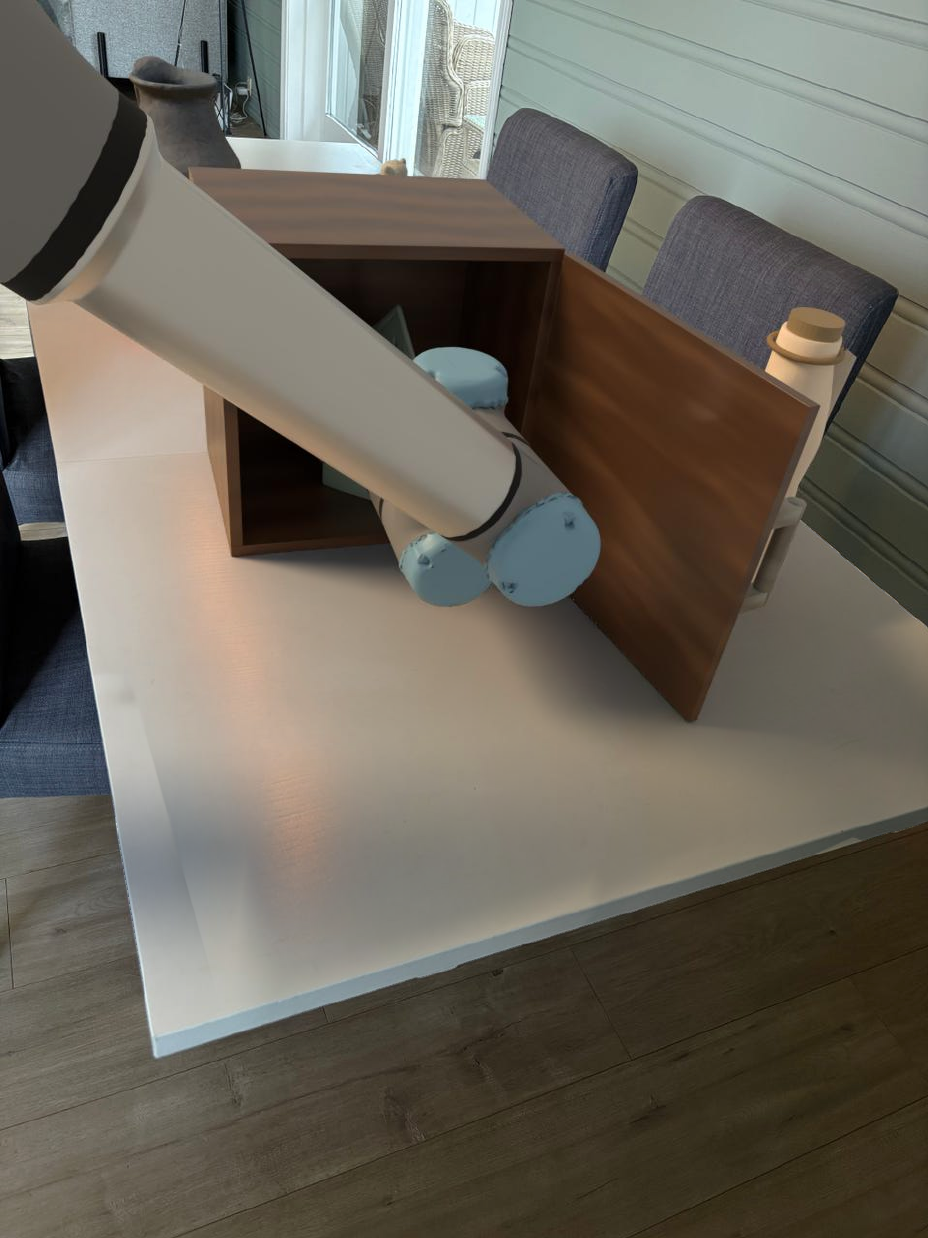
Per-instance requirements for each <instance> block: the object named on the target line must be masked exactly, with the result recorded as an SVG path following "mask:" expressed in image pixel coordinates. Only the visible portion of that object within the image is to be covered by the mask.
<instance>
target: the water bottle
mask: <svg viewBox="0 0 928 1238" xmlns="http://www.w3.org/2000/svg"><path fill="white" fill-rule="evenodd" d="M845 327H846V321H845V320H844V319H843V318H842V317H840V316H839V315H837V314H836V313H833V312H830V311H827V310H824V309H821V308H815V307H809V306H798V307H794V308H792V309H791V310H790V312H789V316H788V319H787V321H785V322H784V323H782V326H781V327H780V329H779V330H775V331H772V332H771V333H769V334H768V335H767V337H766V340H765V341H766V345H767V346H768V347H769V349H770V350H771V354H770V356H769V359H768V361H767V364H766V367H765V370H764V371H765V372H767V373H769V374H770V375H772V376H773V377H775V378H777V379H778V380H780V381H782V382H783V383H785V384H786V385H788V386H790V387H791V388H793V389H795V390H796V391H798V392H799V393H801V394H803V395H804V396H806V397H808V398H809V399H811V400H812V401H814V402H816V403H817V404H819V405H820V409H819V411H818V414H817V417H816V419H815V422H814V424H813V427H812V429H811V432H810V434H809V437H808V439H807V442H806V444H805V447H804V449H803V452H802V455H801V457H800V460H799V462H798V465H797V467H796V470H795V472H794V475H793V477H792V480H791V482H790V485H789V487H788V490H787V493H786V495H785V498H787V497H796V495H797V492H798V489H799V485H800V483H801V482H802V480H803V478H804V476H805V475H806V472H807V471H808V469H809V467H810V465H811V463H812V462H813V460H814V458H815V457H816V454H817V452H818V450H819V448H820V445H821V443H822V441H823V437H824V434H825V429H826V426H827V422H828V420H829V418H830V416H831V413H832V412H833V410H834V408H835V405H836V403H837V401H838V398H839V396H840V394H841V392H842V390H843V388H844V386H845V384H846V382H847V380H848V377H849V375H850V373H851V371H852V368H853V367H854V364H855V362H856V360H857V358H858V357H857V356H856V355H855V354H853V353H852V352H851V351H850V350H849V349H847V347H845V346H844V345H843V344H842V343H843V336H842V335H843V331H844V329H845ZM774 339H776V340H775V341H774ZM773 531H774V529H773V530H772V531H771V533H770V536H769V538H768V541H767V543H766V546H765V548H764V551H763V553H762V556H761V558H760V561H759V564H758V566H757V569H756V571H755V574H754V576H753V579H752V581H751V583H753V582H754V579H755V577H756V574H757V572H758V569H759V567H760V564H761V561H762V559H763V556H764V554H765V551H766V549H767V546H768V544H769V541H770V539H771V536H772V534H773Z"/></svg>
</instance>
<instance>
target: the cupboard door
mask: <svg viewBox="0 0 928 1238" xmlns="http://www.w3.org/2000/svg"><path fill="white" fill-rule="evenodd" d="M819 409H820V405H819V404H817V403H816V402H814V401H812V400H811V399H809V398H808V397H806V396H804V395H803V394H801V393H799V392H798V391H796V390H795V389H793V388H791V387H790V386H788V385H786V384H785V383H783V382H782V381H780V380H778V379H777V378H775V377H773V376H772V375H770V374H769V373H767V372H765V370H764V369H763V368H761V367H759V366H757V365H756V364H754V363H753V362H752V361H749V360H747V359H746V358H745V357H742V356H741V355H739V354H738V353H736V352H735V351H733V350H731V349H730V348H729V347H726V346H725V345H723V344H721V343H720V342H718V340H715V339H714V338H712V337H710V336H709V335H707V334H706V333H704V332H702V331H700V330H699V329H698V328H696V327H694V326H693V325H691V324H689V323H688V322H686V321H685V320H683V319H681V318H680V317H678V316H676V315H674V314H673V313H672V312H670V311H668V310H667V309H664V308H663V307H661V306H660V305H658V304H657V303H655V302H653V301H652V300H651V299H649V298H647V297H645V296H644V295H642V294H640V293H639V292H637V291H635V290H634V289H632V288H631V287H629V286H628V285H626V284H624V283H622V281H620V280H618V279H616V278H615V277H613V276H611V275H609V274H608V273H606V272H604V271H603V270H602V269H600V268H598V267H596V266H595V265H594V264H591V263H590V262H588V261H587V260H585V259H584V258H582V257H580V255H579V256H578V255H577V254H575V253H574V252H570V253H565V254H564V258H563V264H562V269H561V275H560V280H559V286H558V291H557V297H556V302H555V308H554V313H553V319H552V324H551V330H550V335H549V341H548V346H547V352H546V357H545V363H544V368H543V374H542V379H541V385H540V390H539V396H538V401H537V407H536V412H535V418H534V423H533V429H532V434H531V440H530V446H531V448H532V449H533V451H534V452H535V454H536V455H537V456H538V457H539V458H540V459H541V460H542V461H543V463H544V464H545V465H546V466H547V467H548V468H549V469H550V470H551V471H552V473H553V474H554V475H555V476H556V477H557V478H558V479H559V480H560V481H561V483H562V484H563V485H564V486H565V487H566V488H567V489H568V490H569V491H570V493H571V494H573V495H574V496H575V497H577V498H579V499H580V501H581V502H582V503H583V507H584V509H585V510H586V512H587V513H588V515H589V516H590V517H591V519H592V520H593V521H594V523H595V524H596V526H597V528H598V531H599V534H600V554H599V558H598V560H597V563H596V565H595V567H594V569H593V571H592V572H591V574H590V575H589V577H588V578H586V579H585V580H584V581H583V583H582V584H581V585H579V586H578V587H577V588H576V590H575V591H574V592H573V593H571V594H570V595H568V596H569V597H570V598H571V599H572V600H573V602H574V603H576V605H578V607H579V608H580V609H581V610H582V611H583V612H584V613H585V614H586V615H587V616H588V617H589V618H590V620H592V621H593V623H595V625H596V626H597V627H598V628H599V629H600V630H601V631H602V632H603V634H605V635H606V636H607V638H608V639H609V640H610V641H611V642H612V643H613V644H614V645H615V646H616V647H617V648H618V649H619V650H620V651H621V652H622V653H623V655H624V656H625V657H626V658H627V659H629V661H630V662H631V663H632V664H633V665H634V666H635V667H636V668H637V670H639V671H640V673H641V674H642V675H643V676H644V677H645V678H646V679H647V681H649V682H650V683H651V685H653V687H655V689H656V690H657V691H658V692H659V693H660V694H661V695H662V696H663V697H664V698H665V700H666V701H667V702H668V703H669V704H670V705H671V706H672V707H673V708H674V709H675V710H676V711H677V712H678V713H679V714H680V715H681V716H682V718H684V720H685V721H686V722H687V723H691V722H694V721H697V720H698V718H699V715H700V713H701V710H702V708H703V706H704V703H705V701H706V698H707V695H708V692H709V690H710V687H711V686H712V683H713V680H714V678H715V675H716V673H717V670H718V667H719V665H720V662H721V659H722V657H723V655H724V653H725V650H726V647H727V645H728V642H729V639H730V637H731V636H732V632H733V629H734V627H735V624H736V622H737V619H738V617H739V615H740V614H743V613H746V612H749V611H753V610H756V609H757V610H758V609H761V608H764V607H765V606H766V604H767V602H768V600H769V597H770V595H771V592H772V590H773V588H774V586H775V583H776V580H777V578H778V575H779V573H780V571H781V568H782V567H783V566H782V565H783V563H784V561H785V558H786V556H787V554H788V551H789V549H790V547H791V545H792V542H793V539H794V537H795V535H796V532H797V531H798V527H799V525H800V522H801V520H802V518H803V515H804V512H805V511H806V507H807V505H808V504H807V502H806V501H805V500H804V499H803V498H799V497H797V496H795V497H787V498H785V495H786V493H787V490H788V487H789V485H790V482H791V480H792V477H793V475H794V472H795V470H796V467H797V465H798V462H799V460H800V457H801V455H802V452H803V449H804V447H805V444H806V442H807V439H808V437H809V434H810V432H811V429H812V427H813V424H814V422H815V419H816V417H817V414H818V411H819ZM773 529H774V531H773V534H772V536H771V539H770V541H769V544H768V546H767V549H766V551H765V554H764V556H763V559H762V561H761V564H760V567H759V569H758V572H757V574H756V577H755V579H754V582H753V583H751V581H752V579H753V576H754V574H755V571H756V569H757V566H758V564H759V561H760V558H761V556H762V553H763V551H764V548H765V546H766V543H767V541H768V538H769V536H770V533H771V531H772V530H773Z"/></svg>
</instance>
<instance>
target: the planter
mask: <svg viewBox="0 0 928 1238" xmlns="http://www.w3.org/2000/svg"><path fill="white" fill-rule="evenodd" d="M371 328H373V329H374V330H375V331H376V332H378V333H379V334H380V335H381V336H383V337H384V338H385V339H386V340H387V341H389V342H390V343H391V344H392V345H394V346H395V345H396V348H397V349H399V350H400V351H401V352H402V353H404V354H405V355H406V356H407V357H408V358H410V359H411V360H412V361H413V360H414V359H415V358H416V357H415V353H414V350H413V346H412V343H411V340H410V336H409V332H408V329H407V325H406V322H405V318H404V314H403V310H402V307H401V306H400V305H399V304H397V305H396V306H395V307H394V308H393V309H392V310H391V311H390V312H389V313H387V314H386V315H385V316H384V317H383V318H382V319H381V320H380V321H378V322H377V323H376V324H375V325H374V326H372V327H371ZM322 483H323V484H324V485H327V486H329V487H332V488H335V489H337V490H340V491H343V492H345V493H349V494H352V495H355V496H358V497H361V498H365V499H368V500H371V497H370V495H369V493H368V491H367V489H366V488H365V487H363V486H362V485H360V484H358V483H357V482H355V481H354V480H352V479H351V478H349V477H347V476H346V475H344V474H343V473H341V472H340V471H338V470H336V469H335V468H333V467H332V466H330V465H329V464H327V463H323V469H322ZM371 501H372V500H371Z"/></svg>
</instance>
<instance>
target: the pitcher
mask: <svg viewBox="0 0 928 1238" xmlns="http://www.w3.org/2000/svg"><path fill="white" fill-rule="evenodd" d="M128 79H129V80H130V82H131V83H132V84H133V88H134V92H135V97H136V101H137V106H138V107H139V108H140V109H141V110H143V111H144V112H145V113H146V114H147V115H148V116H149V117H150V118H151V119H152V121H153V125H154V130H155V135H156V140H157V145H158V150H159V153H160V154H161V156H162V157H163V159H164V160H165V161H167V162H168V163H169V164H170V165H172V166H173V167H174V168H175V169H177V170H178V171H179V172H180V173H182V174H183V175H184V176H185V177H186V178H188V179H189V167H211V168H234V169H242V164H241V161H240V159H239V157H238V156H237V154H236V153H235V151H234V149H233V147H232V146H231V144H230V143H229V141H228V139H227V137H226V135H225V133H224V131H223V128H222V125H221V123H220V120H219V117H218V114H217V110H216V107H215V102H214V97H213V96H214V93H215V91H216V90H217V88H218V85H219V82H218V80H217V78H215V77H214V76H213V75H211V74H209V73H207V72H203V71H200V70H196V69H192V68H184V67H179V66H176V65H174V64H172V63H169V62H167V61H166V60H164V59H163V58H160V57H159V56H154V55H151V56H150V55H149V56H143V57H140V58H137V59H136V60H135V61H134V64H133V69H132V70H131V72H130V73H129V76H128ZM189 180H190V179H189Z"/></svg>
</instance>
